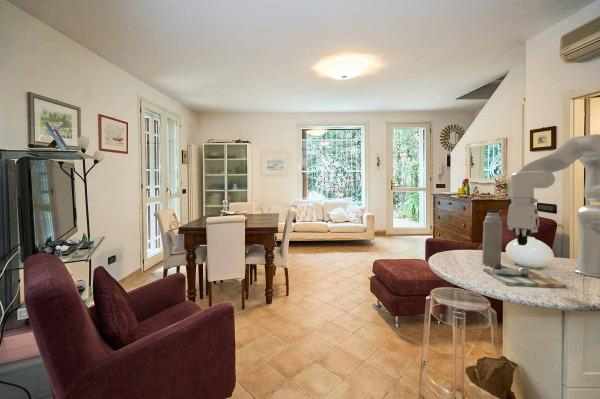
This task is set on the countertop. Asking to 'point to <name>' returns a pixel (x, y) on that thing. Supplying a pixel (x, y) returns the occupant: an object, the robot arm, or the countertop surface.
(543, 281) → the lock board
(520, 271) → the arm
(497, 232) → the thermos bottle
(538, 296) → the countertop surface
